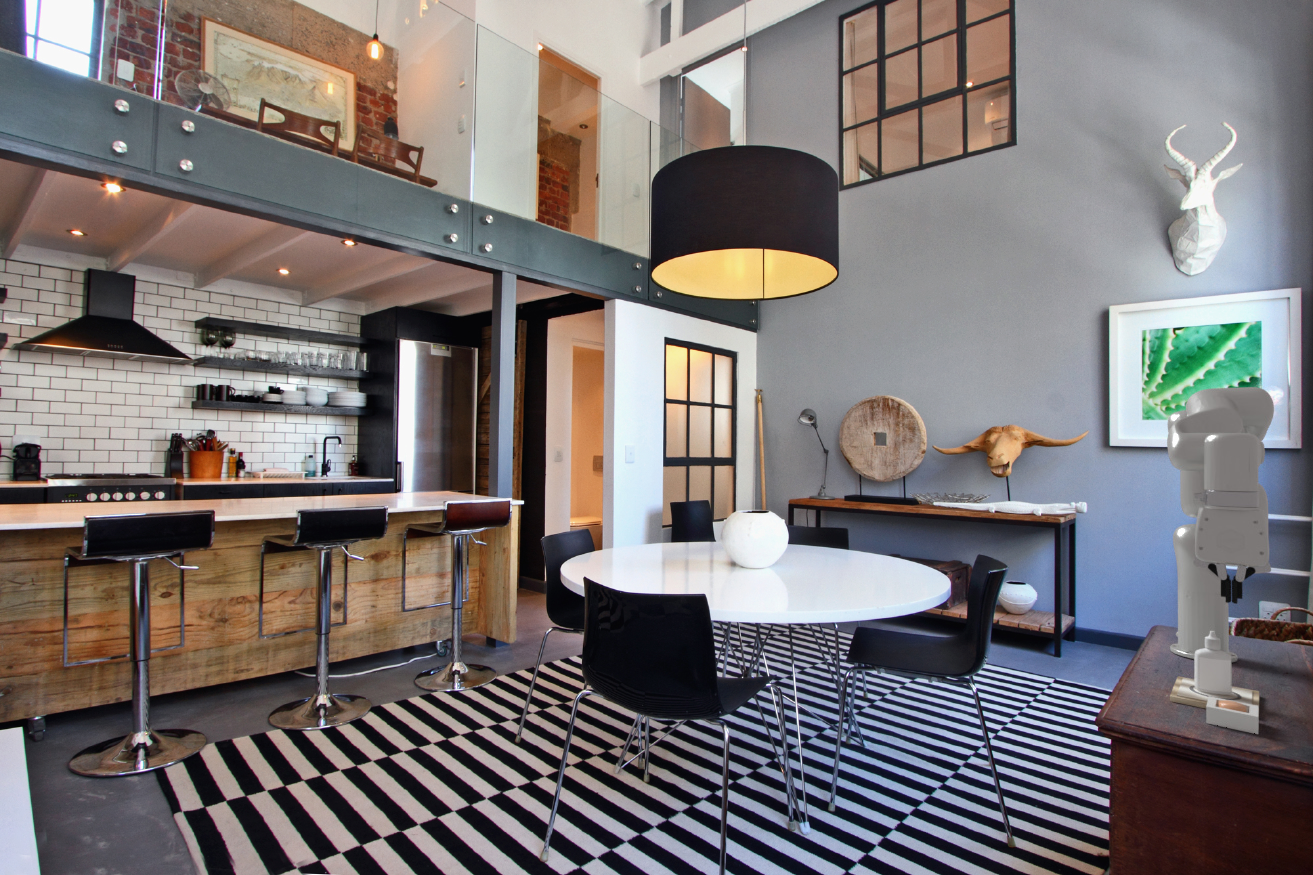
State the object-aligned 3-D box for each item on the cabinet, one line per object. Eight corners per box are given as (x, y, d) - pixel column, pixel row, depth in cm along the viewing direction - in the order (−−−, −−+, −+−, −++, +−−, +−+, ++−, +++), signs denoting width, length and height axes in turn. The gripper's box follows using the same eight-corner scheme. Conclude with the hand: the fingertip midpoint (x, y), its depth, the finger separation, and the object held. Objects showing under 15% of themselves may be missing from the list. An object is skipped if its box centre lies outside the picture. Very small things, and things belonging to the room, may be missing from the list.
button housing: (1208, 712, 127) (1208, 696, 127) (1258, 722, 122) (1258, 705, 122) (1206, 723, 121) (1206, 706, 122) (1258, 734, 117) (1258, 716, 117)
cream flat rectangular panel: (1177, 680, 144) (1177, 674, 144) (1259, 696, 135) (1259, 689, 135) (1169, 701, 132) (1169, 694, 132) (1258, 719, 123) (1258, 712, 124)
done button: (1219, 711, 124) (1219, 698, 124) (1246, 716, 122) (1246, 703, 122) (1218, 717, 122) (1218, 704, 122) (1246, 722, 119) (1246, 709, 119)
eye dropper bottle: (1228, 698, 130) (1227, 636, 131) (1192, 690, 135) (1191, 629, 135) (1233, 693, 133) (1233, 632, 133) (1198, 685, 138) (1197, 626, 138)
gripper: (1177, 499, 125) (1177, 598, 124) (1287, 504, 115) (1288, 612, 114) (1181, 497, 130) (1181, 592, 130) (1286, 502, 120) (1287, 605, 120)
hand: (1231, 601), depth 122 cm, fingers closed
